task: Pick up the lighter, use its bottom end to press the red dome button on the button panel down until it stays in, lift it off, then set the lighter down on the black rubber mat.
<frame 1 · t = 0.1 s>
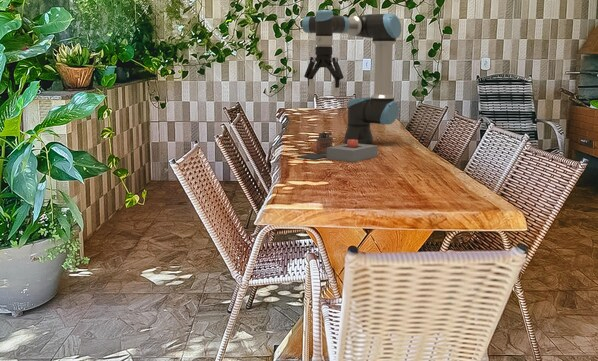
hand: (323, 94, 313), 28 cm above the table, fingers open, 13 cm apart
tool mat: (313, 157, 315), on the table
red dome button: (352, 145, 313), point 6 cm above the table, slide at 0.0 cm
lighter: (324, 154, 326), on the table
button panel: (352, 157, 314), on the table
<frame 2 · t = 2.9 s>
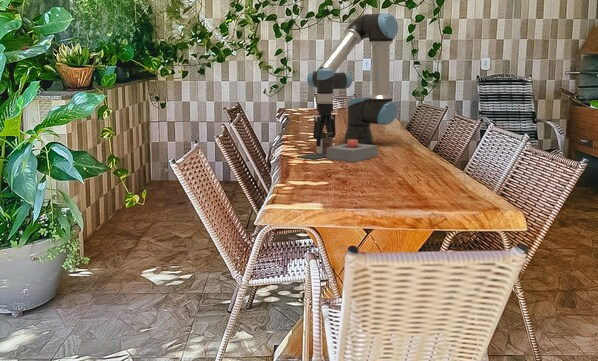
hand: (324, 152, 326), 1 cm above the table, fingers closed on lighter, 7 cm apart
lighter: (324, 153, 326), on the table, touching gripper
everything else where it was.
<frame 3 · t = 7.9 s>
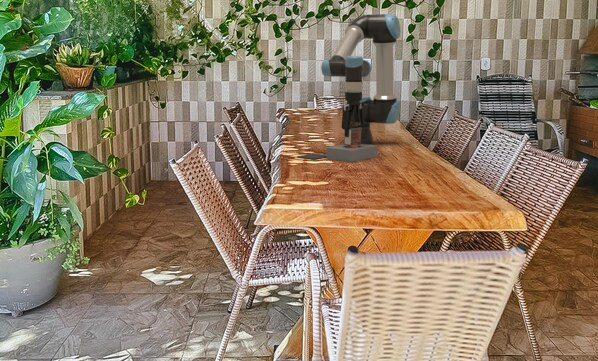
hand: (352, 143, 313), 7 cm above the table, fingers closed on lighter, 7 cm apart
red dome button: (352, 150, 313), point 3 cm above the table, slide at 2.1 cm, touching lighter
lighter: (352, 144, 313), point 6 cm above the table, touching gripper, red dome button
when the fingers open (3 cm above the table, at t = 13.4 s): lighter drops 1 cm, resting on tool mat.
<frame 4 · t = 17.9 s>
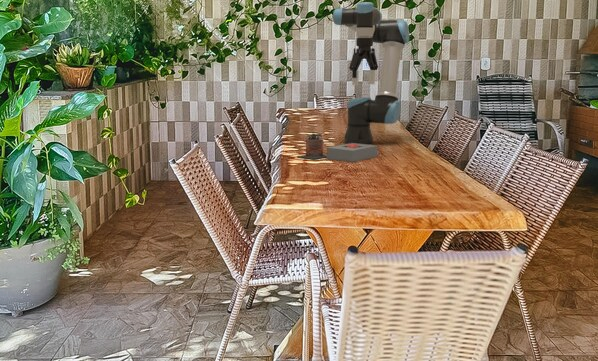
hand: (363, 84, 321), 32 cm above the table, fingers open, 13 cm apart
red dome button: (352, 150, 313), point 3 cm above the table, slide at 2.1 cm
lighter: (314, 156, 315), resting on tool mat
at the end: red dome button slide at 2.1 cm; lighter inside the target area on the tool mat (0.3 cm from its centre), point 0.4 cm above the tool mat's base; the gripper is holding nothing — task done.
